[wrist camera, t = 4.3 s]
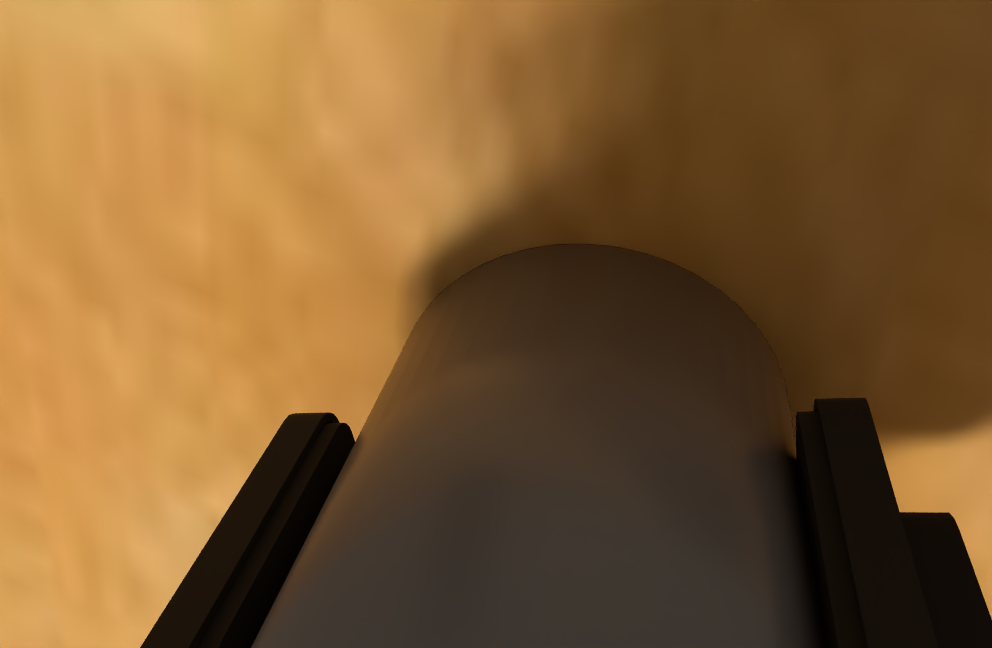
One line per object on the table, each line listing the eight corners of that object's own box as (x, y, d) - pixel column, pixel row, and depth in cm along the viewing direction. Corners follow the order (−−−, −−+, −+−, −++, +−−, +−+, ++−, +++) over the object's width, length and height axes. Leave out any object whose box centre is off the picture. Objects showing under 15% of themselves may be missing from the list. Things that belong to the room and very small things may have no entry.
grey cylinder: (789, 558, 13) (870, 1183, 7) (442, 551, 14) (275, 1069, 9) (787, 226, 10) (917, 810, 4) (357, 260, 12) (23, 736, 6)
